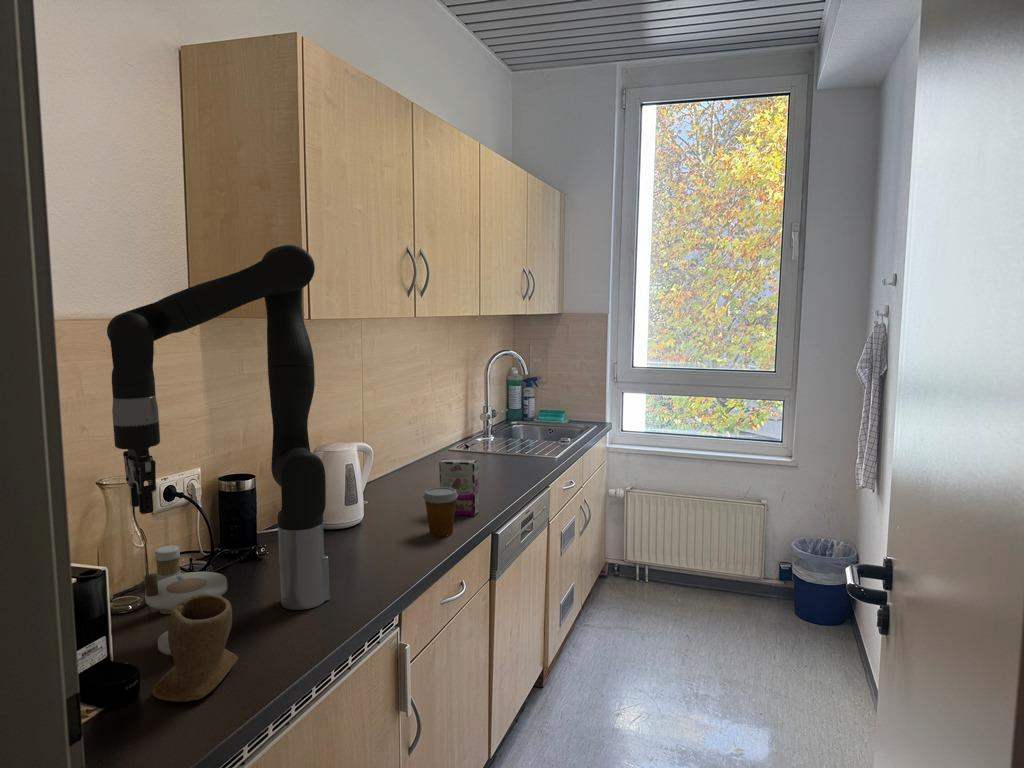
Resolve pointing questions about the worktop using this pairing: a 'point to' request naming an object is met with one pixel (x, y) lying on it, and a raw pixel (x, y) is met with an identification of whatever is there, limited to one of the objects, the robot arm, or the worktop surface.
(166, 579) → the turntable
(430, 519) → the disposable coffee cup
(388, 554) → the worktop surface
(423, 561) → the worktop surface
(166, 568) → the sprinkles bottle
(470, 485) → the candy bar box
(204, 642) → the stone cup
